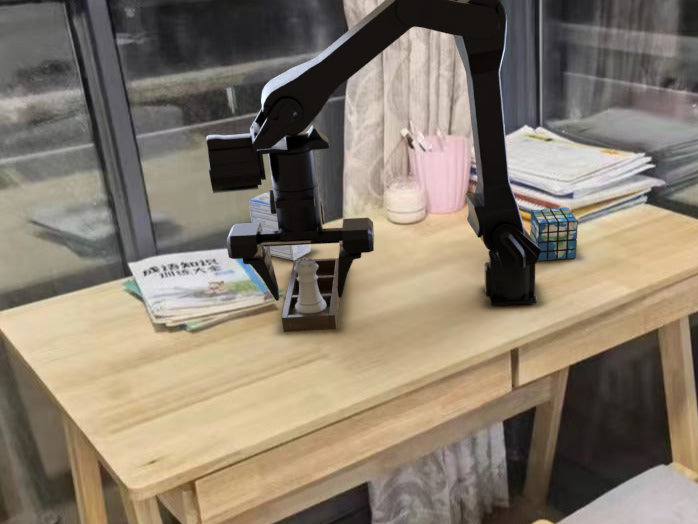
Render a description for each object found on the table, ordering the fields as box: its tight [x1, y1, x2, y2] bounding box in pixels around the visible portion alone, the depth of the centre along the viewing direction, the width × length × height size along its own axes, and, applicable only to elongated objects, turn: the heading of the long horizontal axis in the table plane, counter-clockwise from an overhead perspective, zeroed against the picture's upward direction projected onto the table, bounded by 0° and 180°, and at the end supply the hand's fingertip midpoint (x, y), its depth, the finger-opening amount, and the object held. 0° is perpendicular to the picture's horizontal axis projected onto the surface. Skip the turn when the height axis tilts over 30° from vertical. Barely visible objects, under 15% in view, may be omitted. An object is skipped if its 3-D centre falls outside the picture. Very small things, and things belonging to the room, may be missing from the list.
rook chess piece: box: [294, 256, 328, 315], centre depth 127 cm, size 4×4×8 cm
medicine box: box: [248, 192, 312, 261], centre depth 148 cm, size 8×4×9 cm, turn 58°
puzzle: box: [529, 207, 579, 262], centre depth 145 cm, size 6×6×6 cm
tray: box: [281, 257, 341, 333], centre depth 134 cm, size 7×20×2 cm, turn 3°
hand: (309, 297), depth 128 cm, fingers open, 8 cm apart
